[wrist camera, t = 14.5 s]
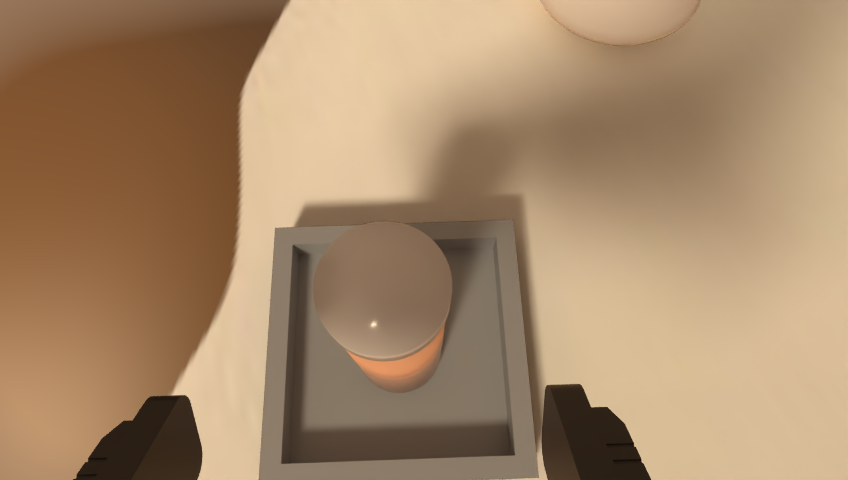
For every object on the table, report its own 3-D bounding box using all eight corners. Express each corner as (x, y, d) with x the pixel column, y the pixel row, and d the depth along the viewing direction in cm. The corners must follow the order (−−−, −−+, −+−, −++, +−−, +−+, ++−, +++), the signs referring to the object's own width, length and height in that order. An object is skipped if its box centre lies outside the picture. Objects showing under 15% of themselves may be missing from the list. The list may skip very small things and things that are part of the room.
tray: (507, 236, 33) (513, 219, 31) (529, 475, 28) (538, 477, 26) (285, 244, 33) (275, 227, 31) (272, 485, 28) (258, 487, 26)
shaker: (441, 306, 31) (448, 218, 19) (445, 393, 29) (456, 352, 18) (356, 309, 31) (315, 223, 19) (356, 396, 29) (310, 358, 18)
